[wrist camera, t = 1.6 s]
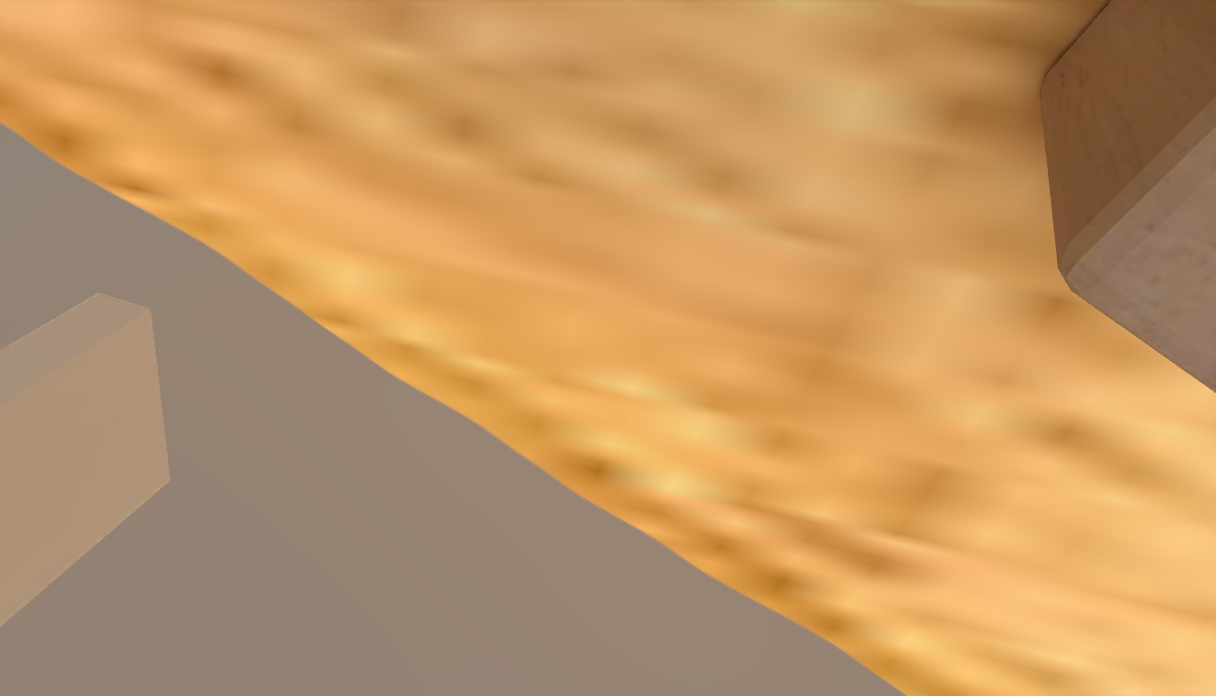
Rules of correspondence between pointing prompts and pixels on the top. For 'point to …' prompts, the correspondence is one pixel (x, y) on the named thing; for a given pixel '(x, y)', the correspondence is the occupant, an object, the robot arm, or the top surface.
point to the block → (1140, 173)
